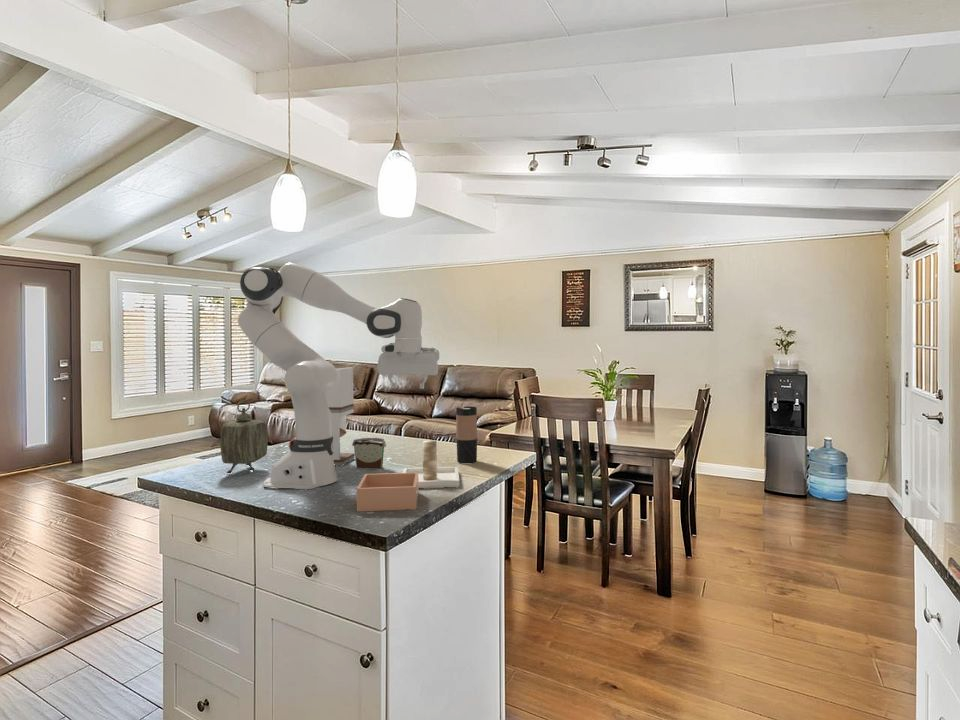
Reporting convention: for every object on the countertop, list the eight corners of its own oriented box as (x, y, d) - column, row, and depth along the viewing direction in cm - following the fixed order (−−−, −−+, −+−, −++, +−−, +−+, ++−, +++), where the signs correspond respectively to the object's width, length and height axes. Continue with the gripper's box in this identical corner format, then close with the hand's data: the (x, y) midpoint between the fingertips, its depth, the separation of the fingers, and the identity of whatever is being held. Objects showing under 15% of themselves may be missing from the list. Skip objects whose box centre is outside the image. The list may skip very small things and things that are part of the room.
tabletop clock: (246, 466, 194) (244, 397, 193) (269, 467, 192) (268, 397, 191) (221, 476, 179) (219, 402, 178) (246, 477, 178) (244, 402, 177)
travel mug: (475, 464, 193) (474, 409, 192) (454, 463, 194) (453, 408, 194) (479, 459, 200) (478, 406, 200) (459, 459, 202) (458, 406, 201)
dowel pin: (423, 480, 169) (422, 443, 169) (423, 477, 173) (422, 440, 173) (437, 480, 169) (436, 442, 169) (437, 476, 174) (436, 440, 173)
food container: (391, 465, 192) (391, 438, 192) (385, 469, 186) (384, 441, 186) (360, 464, 195) (359, 437, 195) (352, 468, 189) (352, 440, 189)
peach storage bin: (356, 511, 141) (356, 488, 141) (365, 494, 157) (364, 474, 157) (416, 509, 143) (415, 487, 142) (418, 492, 158) (418, 472, 158)
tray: (400, 489, 162) (399, 482, 162) (404, 474, 180) (403, 468, 180) (459, 487, 163) (459, 480, 163) (457, 472, 181) (457, 466, 181)
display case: (342, 465, 193) (340, 368, 192) (314, 464, 195) (312, 369, 194) (354, 458, 205) (352, 367, 203) (328, 457, 206) (326, 367, 205)
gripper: (439, 347, 183) (438, 388, 184) (379, 346, 182) (378, 387, 183) (439, 348, 177) (438, 389, 177) (376, 346, 176) (376, 388, 176)
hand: (407, 388), depth 180 cm, fingers open, 8 cm apart
